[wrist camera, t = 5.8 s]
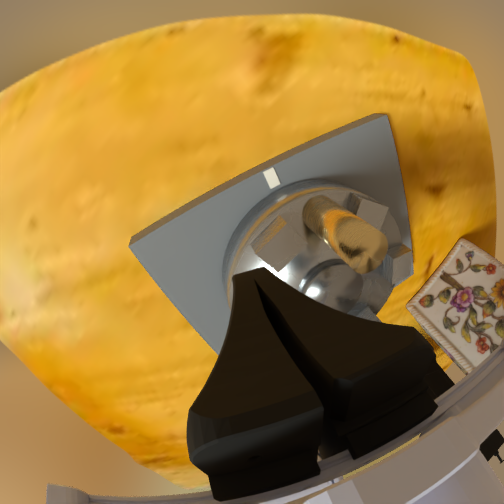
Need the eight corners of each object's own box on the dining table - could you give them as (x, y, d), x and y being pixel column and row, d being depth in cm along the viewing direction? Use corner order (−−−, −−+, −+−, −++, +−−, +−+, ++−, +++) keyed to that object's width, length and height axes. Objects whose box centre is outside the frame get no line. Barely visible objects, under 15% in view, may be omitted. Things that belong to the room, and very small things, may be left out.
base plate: (404, 266, 26) (414, 274, 25) (235, 364, 26) (238, 376, 25) (374, 113, 18) (387, 114, 17) (131, 237, 18) (128, 247, 17)
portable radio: (375, 377, 36) (457, 502, 14) (395, 348, 33) (492, 479, 12) (407, 368, 38) (484, 474, 17) (426, 341, 36) (514, 450, 14)
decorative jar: (473, 276, 33) (550, 344, 17) (426, 333, 35) (496, 414, 19) (460, 232, 27) (568, 313, 11) (402, 304, 29) (498, 411, 14)
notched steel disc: (378, 297, 25) (429, 352, 18) (248, 351, 23) (276, 429, 16) (375, 160, 18) (462, 195, 11) (195, 214, 17) (211, 289, 10)
